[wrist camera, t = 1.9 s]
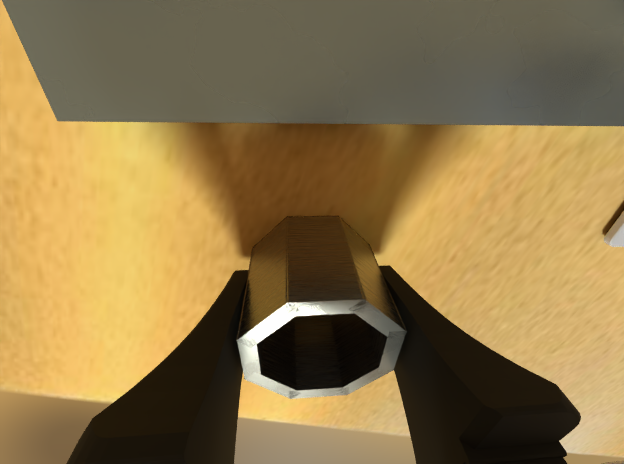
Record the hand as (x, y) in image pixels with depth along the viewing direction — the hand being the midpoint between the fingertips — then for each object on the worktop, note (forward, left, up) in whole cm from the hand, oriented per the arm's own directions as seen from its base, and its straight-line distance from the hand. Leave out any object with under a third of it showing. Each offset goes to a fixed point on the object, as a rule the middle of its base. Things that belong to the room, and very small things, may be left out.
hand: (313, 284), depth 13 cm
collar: (0, 0, -1) cm, 1 cm away
